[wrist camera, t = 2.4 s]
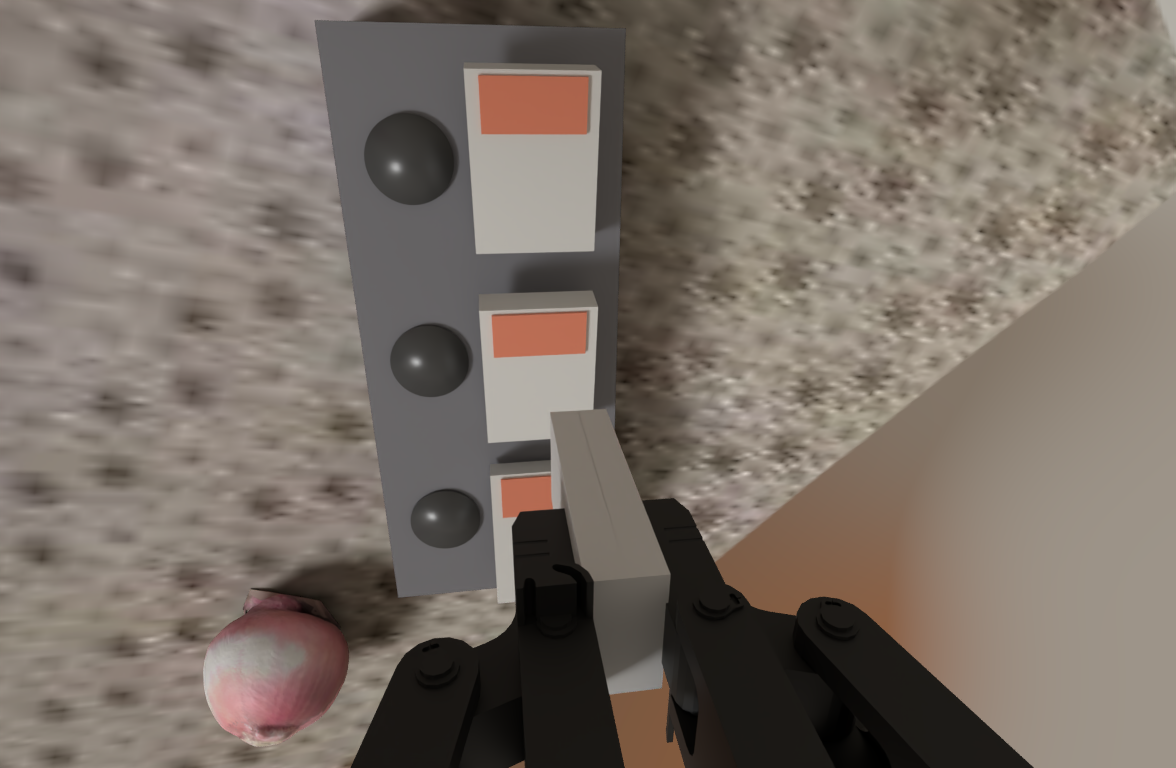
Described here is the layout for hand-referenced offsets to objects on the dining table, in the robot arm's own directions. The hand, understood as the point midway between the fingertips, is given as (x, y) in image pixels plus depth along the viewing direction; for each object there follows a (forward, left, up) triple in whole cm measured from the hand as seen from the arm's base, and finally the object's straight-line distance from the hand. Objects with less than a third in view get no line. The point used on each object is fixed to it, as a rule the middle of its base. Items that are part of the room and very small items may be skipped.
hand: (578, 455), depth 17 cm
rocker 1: (0, +7, -12) cm, 14 cm away
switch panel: (-2, -2, -18) cm, 18 cm away
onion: (-16, -21, -18) cm, 32 cm away
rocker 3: (0, -11, -12) cm, 17 cm away
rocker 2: (0, -2, -12) cm, 12 cm away
